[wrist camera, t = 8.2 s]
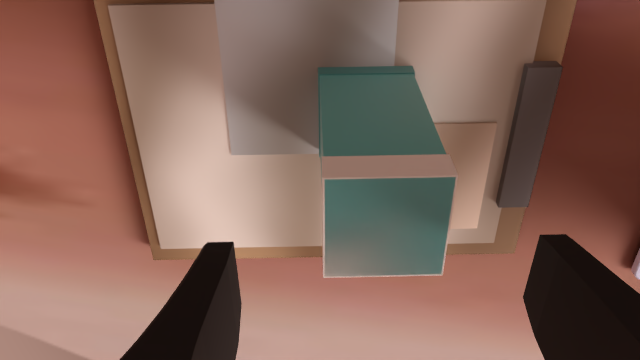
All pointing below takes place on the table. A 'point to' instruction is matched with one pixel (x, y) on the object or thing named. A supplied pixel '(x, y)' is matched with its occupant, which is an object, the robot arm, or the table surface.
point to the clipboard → (302, 109)
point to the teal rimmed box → (381, 175)
